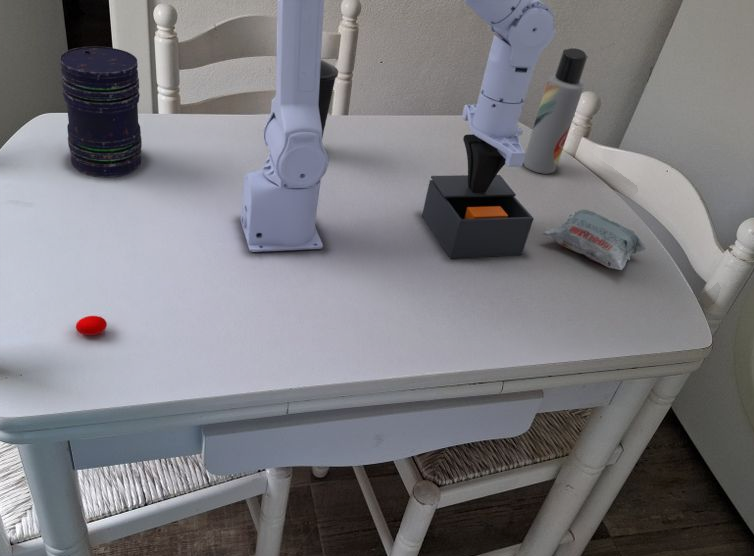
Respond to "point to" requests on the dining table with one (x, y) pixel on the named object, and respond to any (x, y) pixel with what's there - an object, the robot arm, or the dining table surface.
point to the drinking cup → (326, 89)
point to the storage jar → (102, 110)
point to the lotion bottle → (556, 113)
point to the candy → (91, 325)
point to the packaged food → (597, 239)
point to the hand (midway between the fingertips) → (476, 189)
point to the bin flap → (459, 188)
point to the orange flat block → (485, 212)
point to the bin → (476, 225)
